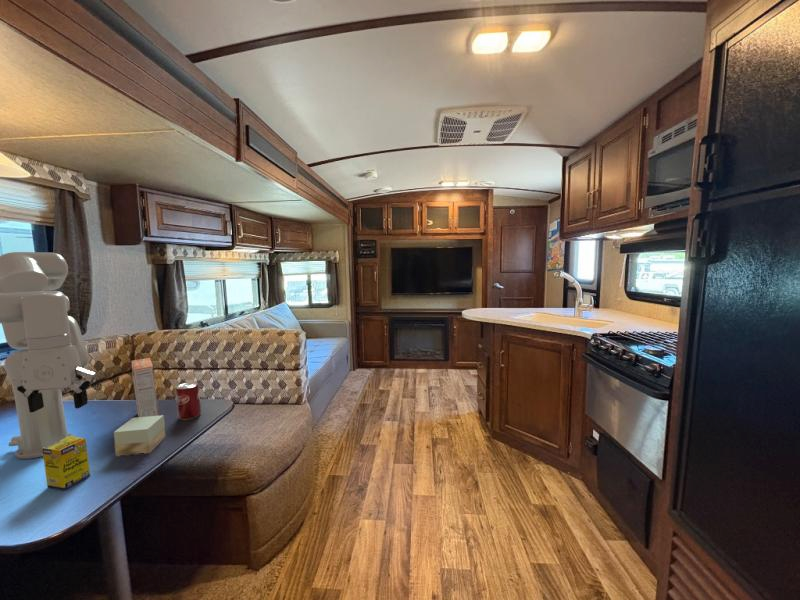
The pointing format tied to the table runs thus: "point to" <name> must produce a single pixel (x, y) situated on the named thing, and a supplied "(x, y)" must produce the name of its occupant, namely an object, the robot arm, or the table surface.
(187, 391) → the soda can
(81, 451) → the supplement box
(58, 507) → the table surface
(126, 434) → the tower top block
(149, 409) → the cracker box
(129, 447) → the tower base block
